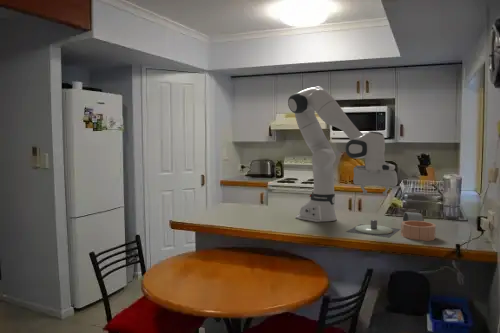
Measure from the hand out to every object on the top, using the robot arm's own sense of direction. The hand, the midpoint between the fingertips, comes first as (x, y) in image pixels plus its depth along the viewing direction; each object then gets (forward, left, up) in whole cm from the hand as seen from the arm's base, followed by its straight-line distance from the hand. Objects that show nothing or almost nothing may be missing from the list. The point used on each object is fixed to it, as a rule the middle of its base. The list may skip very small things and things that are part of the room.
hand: (374, 194), depth 195 cm
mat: (0, 0, -18) cm, 18 cm away
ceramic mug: (+12, +21, -18) cm, 30 cm away
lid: (0, 0, -17) cm, 17 cm away
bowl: (+20, 0, -18) cm, 26 cm away
